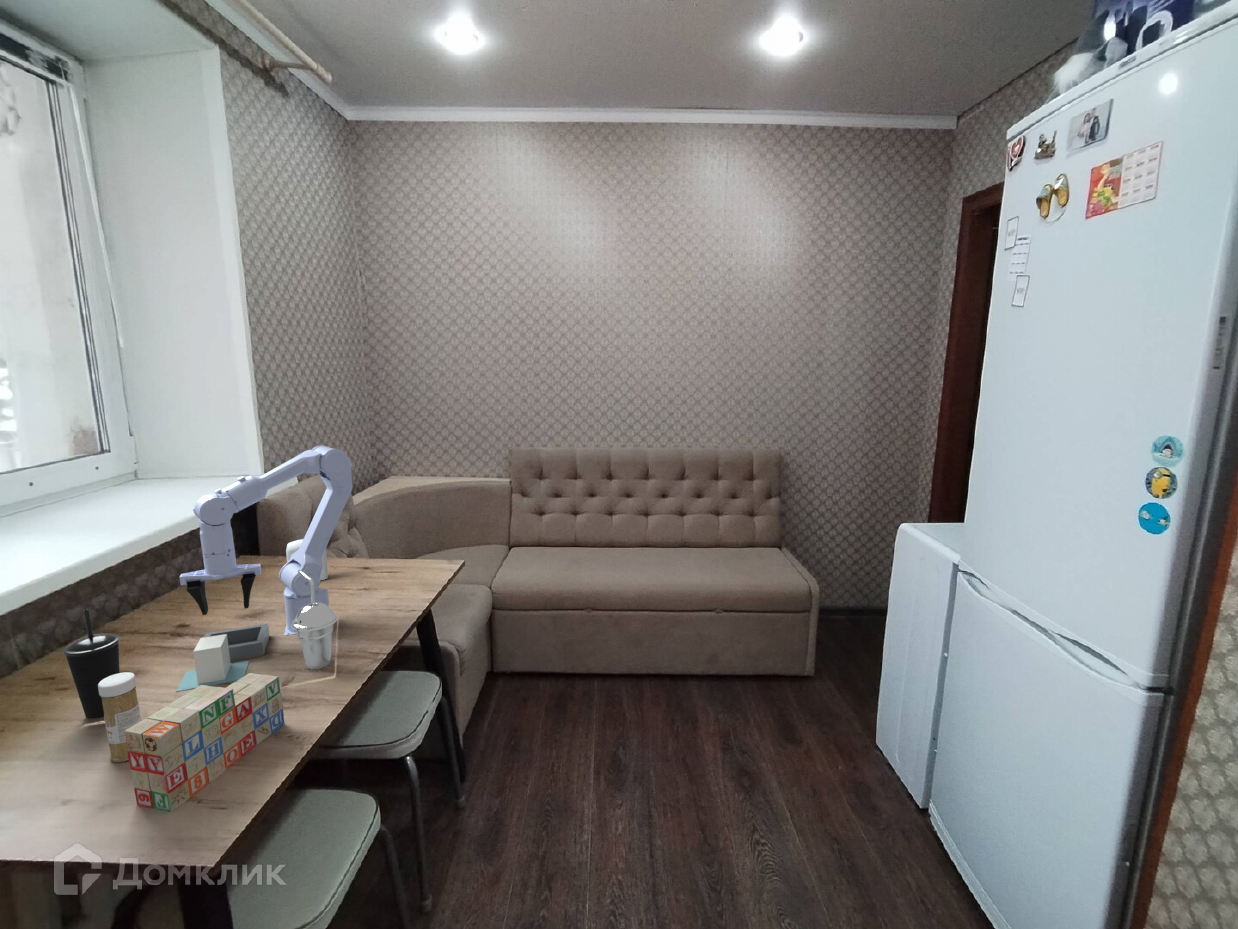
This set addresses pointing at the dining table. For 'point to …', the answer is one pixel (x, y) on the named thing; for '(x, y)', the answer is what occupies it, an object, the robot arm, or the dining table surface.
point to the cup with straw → (315, 630)
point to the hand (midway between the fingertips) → (226, 610)
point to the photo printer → (295, 546)
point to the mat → (233, 674)
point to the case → (245, 641)
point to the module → (212, 659)
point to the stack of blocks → (200, 738)
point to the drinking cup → (92, 666)
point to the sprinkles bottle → (119, 711)
